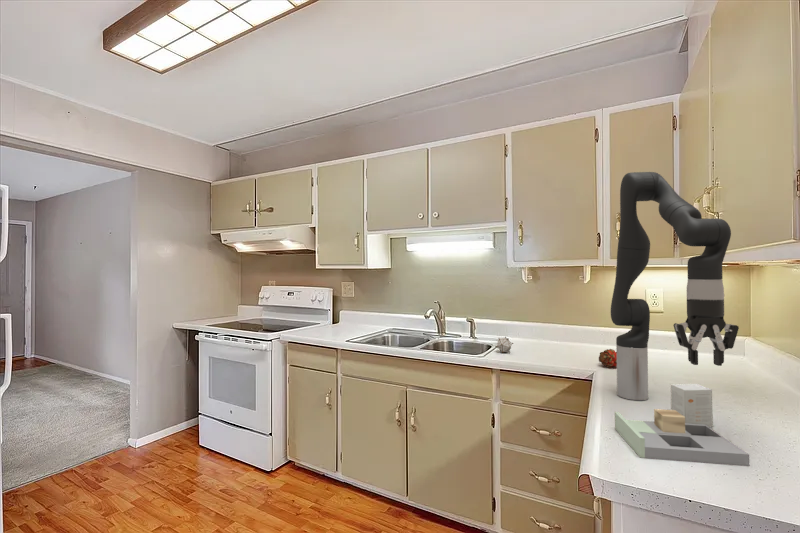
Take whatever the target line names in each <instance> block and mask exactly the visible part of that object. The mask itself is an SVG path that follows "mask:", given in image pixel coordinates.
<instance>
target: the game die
mask: <svg viewBox="0 0 800 533" xmlns="http://www.w3.org/2000/svg"><path fill="white" fill-rule="evenodd" d="M513 344H514V343H513V342H511V341H510V340H509V338H507V337H506V336H505V337H502V338H500V337H498V340H497V343H496V345H495V347H494V348H497V349H499V352H502V354H504V353H507V352H508V353H511V351H510V350H511V349H512V348H511V347H512V345H513Z"/></svg>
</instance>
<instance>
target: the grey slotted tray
mask: <svg viewBox="0 0 800 533" xmlns="http://www.w3.org/2000/svg"><path fill="white" fill-rule="evenodd" d="M614 429H615V430H616V431H617V433H620V434H619V435H620V436H621V437H622V438H623V440H624V441H625V442H626V443H627V444H628V445H629V447H630V448H631V449H632V450H633V451H634V453H636V454H637V456H638V457H639V458H642V459H656V460H666V461H667V460H668V461H669V460H670V461H679V462H680V461H681V462H682V461H683V462H694V463H695V462H697V463H707V464H708V463H709V464H721V465H722V464H723V465H732V466H733V465H734V466H746V467H750V453H748V452H746V451H745V450H744V449H742V448H741V447H739V446H738V445H736V444H735V443H734V442H731V441H730V440H729V439H727V438H726V437H725V436H724V435H721V434H720V433H719V432H717V431H715V430H714V429H712V427H708V426H707V425H704V424H687V423H685V433H673V432H663V431H661V430H660V429H659V428H658V427H657V426H656V425H655V424H654V421H652V420H651V421H650V420H635V419H633V420H632V419H626V418H625V416H623V415H622V414H621V413H620V412H619V411H614Z"/></svg>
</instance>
